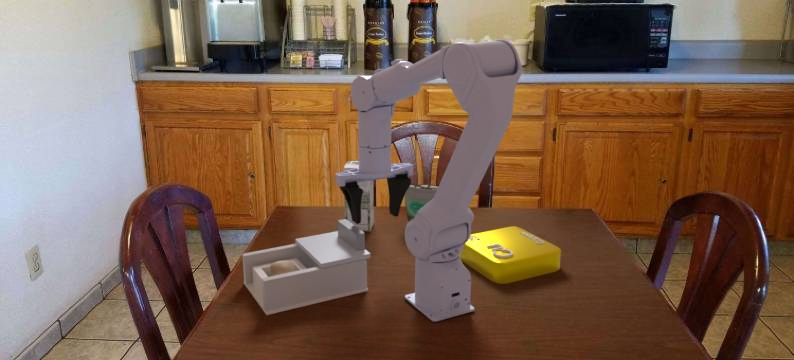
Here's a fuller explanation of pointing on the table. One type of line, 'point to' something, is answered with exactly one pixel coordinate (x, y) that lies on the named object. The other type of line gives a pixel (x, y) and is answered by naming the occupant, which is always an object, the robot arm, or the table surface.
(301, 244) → the lid
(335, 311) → the table surface
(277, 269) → the beige cylinder
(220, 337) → the table surface
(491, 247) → the element tile
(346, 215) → the syrup box
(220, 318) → the table surface
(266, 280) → the housing
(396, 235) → the table surface
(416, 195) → the food container
